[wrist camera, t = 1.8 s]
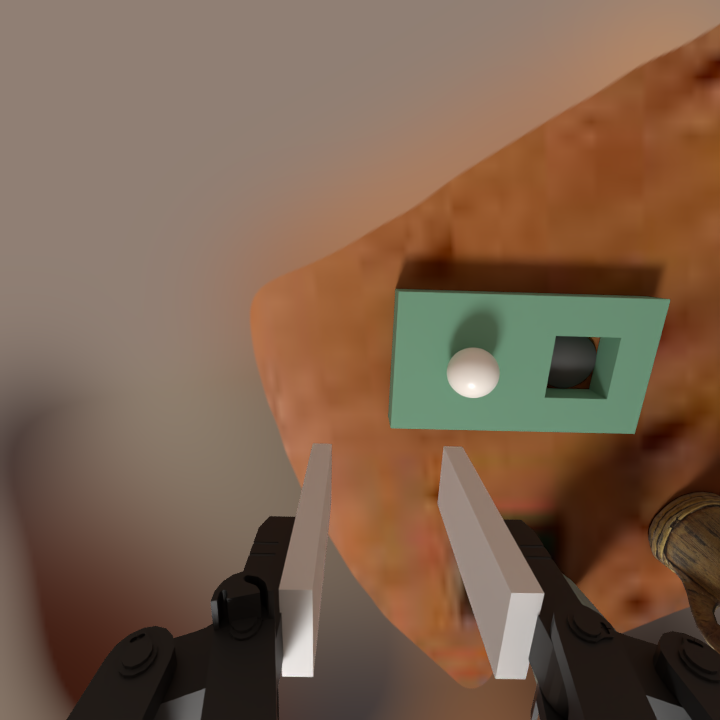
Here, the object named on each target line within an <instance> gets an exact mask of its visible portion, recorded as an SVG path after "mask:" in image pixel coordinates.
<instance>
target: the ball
mask: <svg viewBox="0 0 720 720" xmlns="http://www.w3.org/2000/svg"><path fill="white" fill-rule="evenodd" d="M499 376H500V370H499V366H498V363H497V361H496V359H495V358H494V357H493V356H492V355H491V354H490V353H489V352H487V351H485V350H483V349H480V348H474V347H473V348H466V349H463V350H460V351H459V352H457V353H456V354H455V355H454V356H453V357H452V358H451V360H450V361H449V363H448V367H447V378H448V382H449V384H450V385H451V387H452V388H453V389H454V390H455V391H456V392H457V393H458V394H460V395H462V396H464V397H468V398H479V397H483V396H485V395H487V394H489V393H490V392H491V391H492V390H493V389H494V388H495V387H496V385H497V383H498V380H499Z"/></svg>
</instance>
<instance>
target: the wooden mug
mask: <svg viewBox="0 0 720 720" xmlns="http://www.w3.org/2000/svg"><path fill="white" fill-rule="evenodd" d="M649 543H650V546H651V550H652V553H653V555H654V557H655V558H656V559H658V560H659V561H660V562H661V563H663V564H664V565H665V566H666V567H668V568H669V569H670V570H672V571H673V572H674V573H676V574H677V575H678V577H679V578H680V579H681V580H682V582H683V585H684V587H685V590H686V592H687V596H688V600H689V604H690V608H691V612H692V615H693V617H694V620H695V623H696V625H697V628H698V630H699V631H700V633H701V634H702V636H703V637H704V638H705V640H706V641H707V643H708V644H709V645H710V646H711V647H712V648H713V649H714V650H716V651H717V652H718V653H719V654H720V625H719V624H717V621H716V618H715V615H714V612H715V610H716V609H717V608H718V607H720V496H719V495H716V494H714V493H707V492H696V493H690V494H687V495H684V496H681V497H679V498H677V499H675V500H674V501H672V502H670V503H669V504H668V505H667V506H666V507H665V508H664V509H662V511H661V512H660V513H659V514H658V515H657V516H656V517H655V518H654V520H653V522H652V524H651V526H650V528H649Z"/></svg>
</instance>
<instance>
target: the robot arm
mask: <svg viewBox="0 0 720 720" xmlns="http://www.w3.org/2000/svg"><path fill="white" fill-rule="evenodd" d="M331 471H332V444H313V445H312V449H311V454H310V458H309V462H308V466H307V471H306V475H305V479H304V484H303V488H302V492H301V496H300V501H299V505H298V510H297V513H296V517H276V516H274V517H273V516H270V517H269V518H268V519H267V520H266V521H265V522H264V523H263V524H262V525H261V526H260V527H259V529H258V532H257V534H256V537H255V540H254V544H253V546H252V548H251V551H250V556H249V557H248V560H247V563H246V565H245V568H244V571H243V572H240V573H237V574H234V575H232V576H230V577H229V578H227V579H226V580H224V581H223V582H222V583H221V584H220V585H219V587H218V588H217V589H216V590H215V592H214V594H213V597H212V599H211V610H212V618H213V624H211V625H209V626H208V627H206V628H204V629H201V630H199V631H196V632H193V633H189V634H187V635H183V636H179V637H176V638H173V636H172V634H171V633H170V632H169V631H168V630H167V629H166V628H162V627H158V626H154V627H147V628H143V629H141V630H138V631H136V632H134V633H132V634H130V635H128V636H127V637H126V638H124V639H123V640H122V641H121V642H119V643H118V644H117V645H116V646H115V647H114V648H113V650H112V651H111V652H110V653H109V654H108V656H107V657H106V659H105V660H104V662H103V663H102V665H101V666H100V668H99V669H98V671H97V673H96V674H95V676H94V677H93V679H92V680H91V682H90V684H89V685H88V687H87V688H86V690H85V691H84V693H83V695H82V696H81V698H80V699H79V701H78V702H77V704H76V706H75V707H74V709H73V711H72V712H71V713H70V715H69V717H68V718H67V720H279V696H278V684H279V679H280V673H281V668H282V676H285V677H286V676H289V677H294V676H295V677H313V673H314V664H315V653H316V643H317V635H318V625H319V615H320V605H321V596H322V586H323V577H324V566H325V557H326V547H327V538H328V528H329V519H330V509H331ZM438 506H439V509H440V512H441V515H442V518H443V521H444V524H445V527H446V531H447V534H448V537H449V540H450V543H451V546H452V549H453V552H454V555H455V558H456V561H457V564H458V567H459V570H460V573H461V576H462V579H463V582H464V585H465V588H466V591H467V594H468V597H469V600H470V603H471V606H472V609H473V612H474V615H475V618H476V622H477V625H478V628H479V631H480V634H481V637H482V640H483V643H484V646H485V649H486V652H487V655H488V658H489V661H490V664H491V667H492V670H493V673H494V676H495V679H526V675H527V670H528V666H529V662H530V665H531V667H532V669H533V672H534V674H535V676H536V679H537V681H538V682H537V687H536V691H535V696H534V700H533V704H532V708H531V720H537V717H538V713H539V717H540V720H720V654H719V653H718V652H717V651H716V650H714V649H713V648H711V647H710V646H708V645H707V644H705V643H703V642H702V641H700V640H698V639H696V638H694V637H692V636H689V635H687V634H684V633H679V632H673V631H672V632H668V633H664V634H663V635H662V636H661V638H660V640H659V642H658V645H656V644H653V643H649V642H646V641H643V640H639V639H636V638H633V637H630V636H626V635H624V634H621V633H619V632H616V631H615V630H614V628H613V627H612V625H611V624H610V623H609V622H608V621H607V620H606V619H605V618H604V617H603V616H602V615H600V614H599V613H597V612H596V611H594V610H593V609H591V608H589V607H587V606H585V605H582V603H581V602H580V600H579V599H578V597H577V596H576V594H575V593H574V591H573V590H572V588H571V587H570V585H569V583H568V582H567V580H566V579H565V577H564V576H563V574H562V573H561V571H560V570H559V568H558V567H557V565H556V563H555V562H554V560H552V559H551V556H550V554H549V553H548V551H547V550H546V548H544V545H543V543H542V542H541V540H540V539H539V537H538V536H537V534H536V533H535V531H533V530H532V529H531V528H530V527H529V526H528V525H526V524H525V523H524V522H523V521H522V520H503V519H502V517H501V515H500V513H499V511H498V510H497V508H496V506H495V504H494V502H493V501H492V499H491V497H490V495H489V493H488V492H487V490H486V488H485V486H484V485H483V483H482V481H481V479H480V477H479V476H478V474H477V472H476V470H475V468H474V467H473V465H472V463H471V461H470V460H469V458H468V456H467V454H466V452H465V451H464V449H463V447H447V446H444V449H443V458H442V468H441V477H440V487H439V496H438Z"/></svg>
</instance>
